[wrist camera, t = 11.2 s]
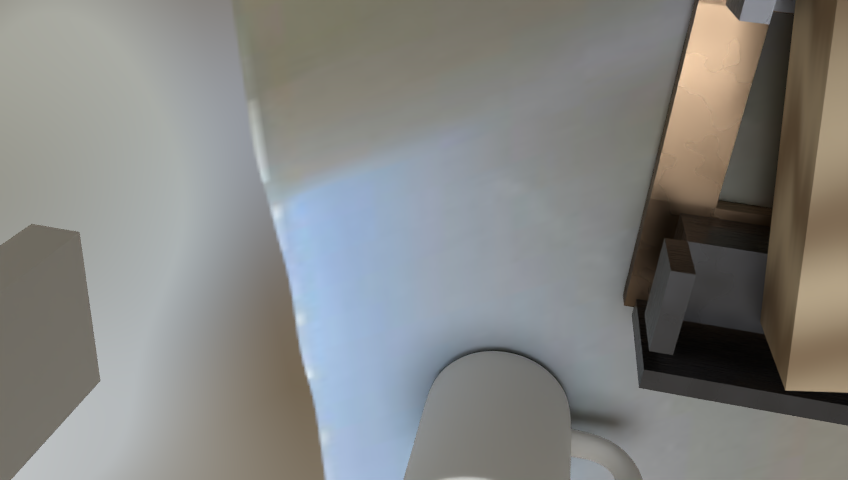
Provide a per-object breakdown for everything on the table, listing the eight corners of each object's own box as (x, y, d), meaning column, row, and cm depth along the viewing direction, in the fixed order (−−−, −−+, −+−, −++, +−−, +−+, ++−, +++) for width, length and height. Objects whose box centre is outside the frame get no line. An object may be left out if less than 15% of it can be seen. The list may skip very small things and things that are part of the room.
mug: (650, 366, 42) (669, 510, 33) (625, 480, 46) (635, 637, 37) (432, 335, 43) (392, 464, 34) (425, 447, 47) (388, 589, 38)
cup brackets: (737, -174, 30) (776, -178, 24) (1100, -140, 28) (1242, -136, 22) (621, 303, 40) (627, 385, 34) (883, 347, 39) (939, 442, 33)
